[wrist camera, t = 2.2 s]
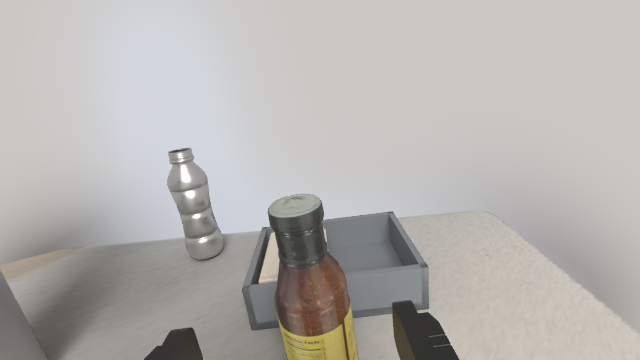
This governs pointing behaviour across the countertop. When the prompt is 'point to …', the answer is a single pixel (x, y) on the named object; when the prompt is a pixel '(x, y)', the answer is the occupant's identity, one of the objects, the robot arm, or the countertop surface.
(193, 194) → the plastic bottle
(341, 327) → the sauce bottle
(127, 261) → the countertop surface
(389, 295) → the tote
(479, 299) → the countertop surface
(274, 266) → the cream rectangular box
